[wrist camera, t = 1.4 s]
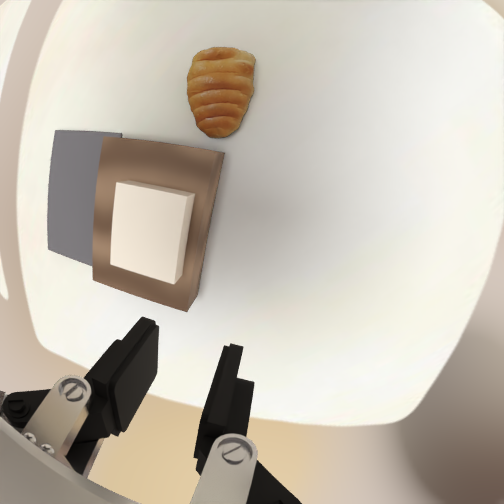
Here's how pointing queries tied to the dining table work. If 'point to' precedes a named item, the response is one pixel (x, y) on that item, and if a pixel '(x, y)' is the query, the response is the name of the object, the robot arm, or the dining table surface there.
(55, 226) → the mat
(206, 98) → the pastry
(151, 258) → the tile
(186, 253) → the serving board
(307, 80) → the dining table surface
